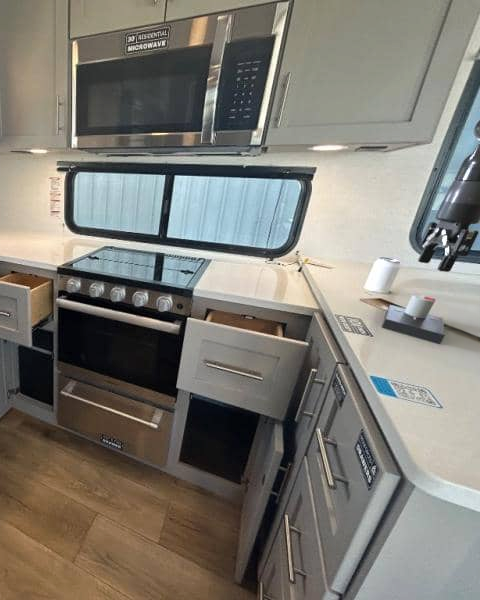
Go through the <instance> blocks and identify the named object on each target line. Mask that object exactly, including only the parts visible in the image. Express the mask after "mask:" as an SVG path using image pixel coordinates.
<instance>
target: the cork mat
mask: <svg viewBox="0 0 480 600" xmlns="http://www.w3.org/2000/svg"><path fill="white" fill-rule="evenodd" d="M359 301H360V302H364V303H366V304H368V305H370V306H373V307H375V306H376V308H378V309H380V310H382V309H383V311H385V312H387V309H388V307H389V305H393V306H397V307H401V308H405V309H406V308H407V307H405V306H402V305H399V304H396V303H394V302H392V301H389V300H386V299H384V298H381V297H380V298H379V297H374V298H373V297H372V298H371V297H369V298H368V297H367V298H359Z"/></svg>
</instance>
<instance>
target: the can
mask: <svg viewBox="0 0 480 600" xmlns="http://www.w3.org/2000/svg"><path fill="white" fill-rule="evenodd" d="M401 263H402V261H401V260H399V259H395V258H390V257H384V256H383V257H382V256H381V257H378V259H376V260H375V262H374V263H373V266H372V269H371V271H370V273H369V275H368V277H367V279H366V282H365V284H364V289H366V290H368V291H370V292H371V291H372V292H374V293H379V294H389V293H390V290H391V289H392V287H393V284H394V283H395V280H396V278H397V276H398V273H399V271H400V269H401ZM364 293H365V294H367V295H369V296H372V294H370V293H368V292H365V291H364Z"/></svg>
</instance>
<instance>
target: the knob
mask: <svg viewBox="0 0 480 600" xmlns="http://www.w3.org/2000/svg"><path fill="white" fill-rule="evenodd" d="M435 302H436V298H432V297H429V296H425V295H421V294H412V296H411V298H410V300H409V302H408V303H407V306H406V307H405V308H406V310H405V313H406V314H408V315H411V316H414V317H418V318H426V317H427V315H428V314H429V313H430V312H431V310H432V308H433V306H434V304H435Z"/></svg>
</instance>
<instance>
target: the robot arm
mask: <svg viewBox="0 0 480 600" xmlns="http://www.w3.org/2000/svg"><path fill="white" fill-rule="evenodd" d="M473 135H474V137H475V138H476V139H477V140H478V143H477V145H476V147H475V149H474V150H473V152H472V153H471V154H469V155H468V156H466V157H465V159H464V160H463V161H462V163H461V165H460V167H459V168H458V171H457V173H456V175H455V177H454V179H453V181H452V182H451V185H450V186H449V188H447V191H446V192H445V195H444V197H443V199H442V201H441V203H440V205H439V207H438V209H437V211H436V213H435V216H434V219H435V220H437V221H430V222H429V223H428V225H427V227H426V229H425V230H424V233H423V235H422V237H421V239H420V241H419V244H420V245H422V248H423V249H422V250H421V252H420V255H419V257H418V260H417V261H418V262H419V263H422V264H429V263H430V262H431V260H432V259H433V256H434V254H435V253H436V249H437V248H438V247H439V246H441V245H442V248H444V255H443V256H442V259H441V261H440V263H439V265H438V266H437V267H436V268H437V270H438V271H439V272H444V273H445V272H446V273H450V272H451V270H452V269H453V267H454V264H455V263H456V262H457V259H458V258H461V257H467V256H469V254H470V252H471V249H472V248H473V245H474V243H475V242H476V239H477V237H478V236H479V230H475V229H474V230H473V229H470V226H471V225H477V224H478V223H480V119H479V120H478V121H477V123H476V124H475V125H474V129H473ZM438 221H439V222H438Z"/></svg>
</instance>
